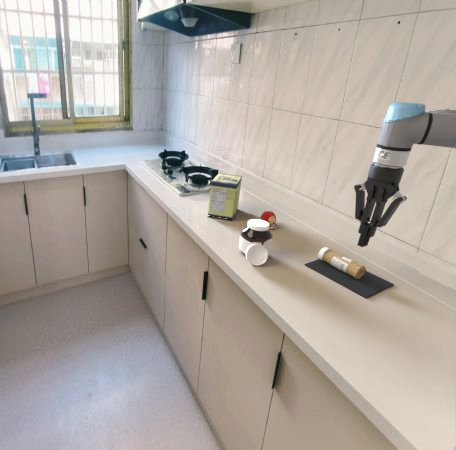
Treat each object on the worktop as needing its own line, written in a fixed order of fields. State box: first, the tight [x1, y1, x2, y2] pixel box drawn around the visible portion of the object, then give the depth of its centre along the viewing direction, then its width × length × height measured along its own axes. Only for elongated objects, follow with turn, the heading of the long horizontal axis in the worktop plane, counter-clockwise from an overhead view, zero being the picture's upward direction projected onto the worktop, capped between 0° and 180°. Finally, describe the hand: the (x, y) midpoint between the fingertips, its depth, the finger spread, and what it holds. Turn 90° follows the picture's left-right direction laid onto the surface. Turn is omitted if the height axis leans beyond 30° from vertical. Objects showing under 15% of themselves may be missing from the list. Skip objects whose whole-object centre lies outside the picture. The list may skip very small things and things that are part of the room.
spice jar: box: [317, 246, 367, 279], centre depth 105 cm, size 5×5×13 cm
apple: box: [260, 210, 279, 230], centre depth 135 cm, size 8×8×6 cm
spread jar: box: [238, 218, 273, 267], centre depth 109 cm, size 12×11×12 cm
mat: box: [304, 258, 395, 299], centre depth 104 cm, size 20×14×1 cm
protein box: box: [207, 172, 243, 220], centre depth 145 cm, size 10×16×16 cm
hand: (362, 245), depth 98 cm, fingers closed
